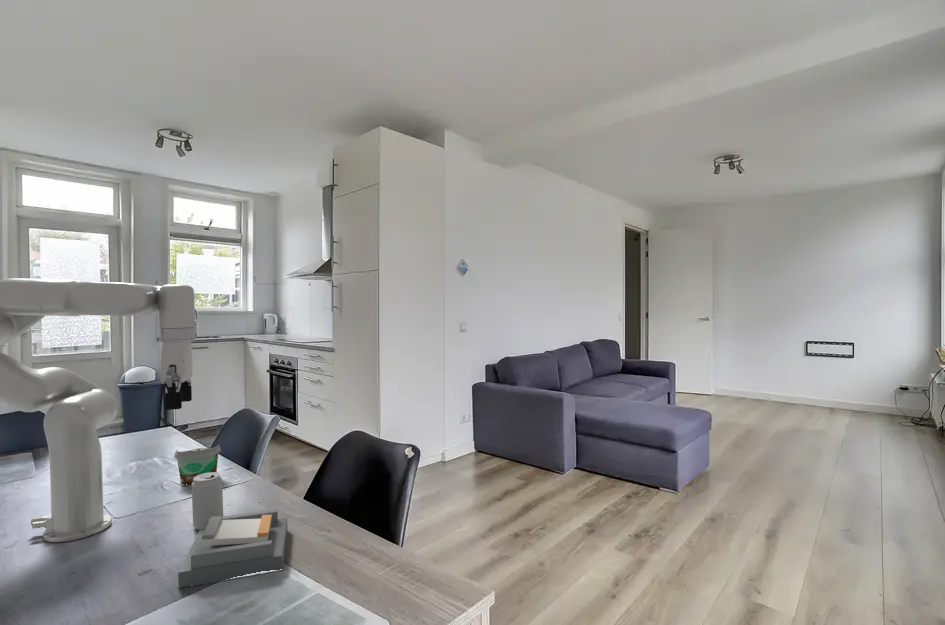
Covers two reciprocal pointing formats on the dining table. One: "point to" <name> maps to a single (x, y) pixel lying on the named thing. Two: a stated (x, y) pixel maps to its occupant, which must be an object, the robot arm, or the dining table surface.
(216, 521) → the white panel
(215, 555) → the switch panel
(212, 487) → the beverage can
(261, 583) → the dining table surface
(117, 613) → the dining table surface
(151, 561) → the dining table surface
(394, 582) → the dining table surface
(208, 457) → the food container
